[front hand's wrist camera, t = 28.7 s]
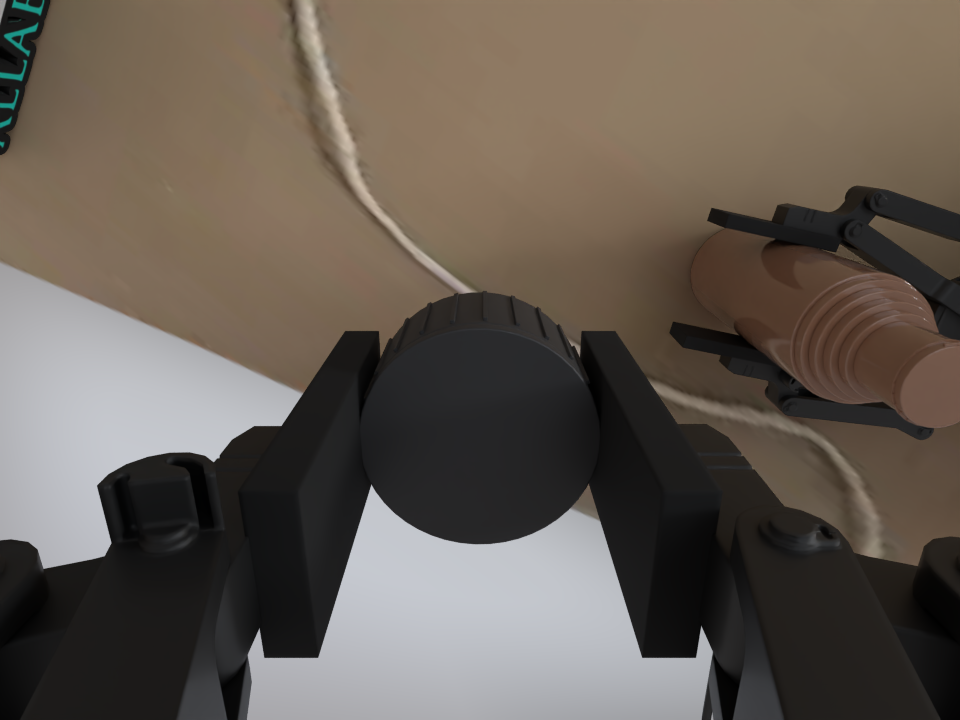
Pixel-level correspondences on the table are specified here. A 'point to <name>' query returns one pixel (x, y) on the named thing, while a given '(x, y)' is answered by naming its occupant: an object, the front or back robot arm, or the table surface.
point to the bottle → (832, 324)
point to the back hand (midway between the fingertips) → (697, 278)
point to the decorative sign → (16, 56)
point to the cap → (479, 421)
